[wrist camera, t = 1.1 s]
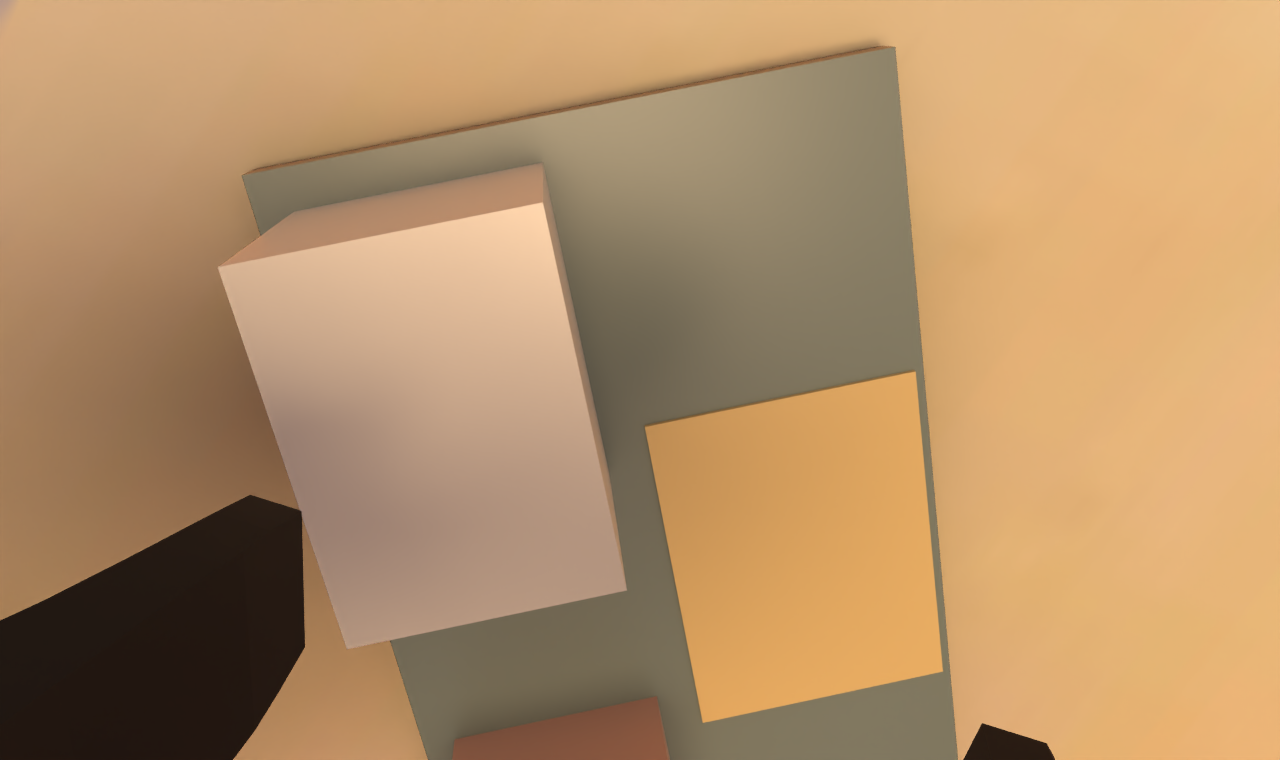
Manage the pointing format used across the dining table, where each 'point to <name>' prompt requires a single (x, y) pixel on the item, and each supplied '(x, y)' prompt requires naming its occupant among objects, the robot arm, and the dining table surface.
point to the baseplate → (718, 418)
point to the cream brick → (432, 403)
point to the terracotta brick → (576, 737)
